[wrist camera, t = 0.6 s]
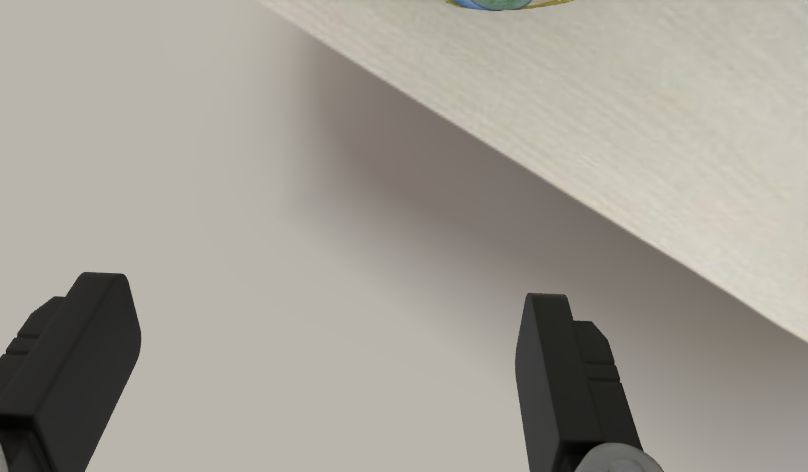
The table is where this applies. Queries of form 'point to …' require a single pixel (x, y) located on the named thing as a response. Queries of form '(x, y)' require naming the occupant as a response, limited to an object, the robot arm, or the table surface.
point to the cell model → (504, 4)
